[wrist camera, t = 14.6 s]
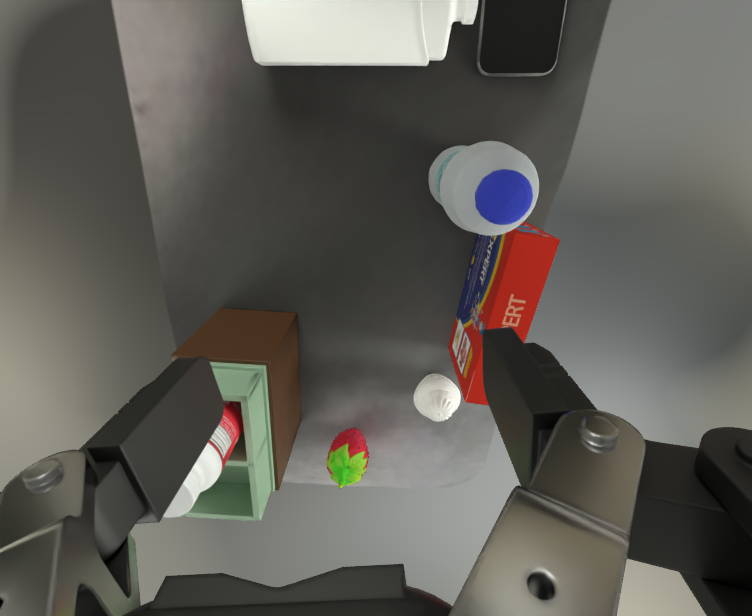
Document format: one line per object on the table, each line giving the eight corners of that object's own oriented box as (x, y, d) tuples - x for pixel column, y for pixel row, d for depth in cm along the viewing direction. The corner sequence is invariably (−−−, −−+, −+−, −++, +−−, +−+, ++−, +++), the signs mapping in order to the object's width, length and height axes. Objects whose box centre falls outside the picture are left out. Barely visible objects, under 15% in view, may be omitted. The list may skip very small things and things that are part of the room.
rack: (220, 307, 48) (142, 382, 32) (296, 312, 48) (254, 389, 32) (234, 417, 55) (175, 521, 40) (300, 422, 55) (267, 526, 40)
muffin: (418, 359, 50) (423, 391, 43) (461, 368, 50) (472, 401, 44) (407, 396, 52) (409, 430, 46) (448, 404, 53) (456, 439, 46)
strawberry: (328, 449, 57) (317, 507, 48) (335, 411, 54) (325, 465, 45) (365, 455, 57) (361, 514, 48) (374, 418, 54) (371, 473, 45)
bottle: (439, 218, 42) (480, 271, 24) (414, 163, 40) (437, 176, 22) (494, 189, 41) (582, 222, 23) (471, 131, 39) (548, 114, 20)
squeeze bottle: (252, -56, 33) (230, -90, 28) (475, -56, 33) (489, -90, 28) (264, 69, 37) (247, 57, 32) (463, 70, 36) (474, 59, 32)
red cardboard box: (477, 351, 49) (502, 407, 39) (448, 347, 49) (465, 402, 38) (516, 217, 42) (560, 239, 31) (482, 211, 42) (514, 233, 31)
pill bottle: (213, 433, 39) (153, 532, 29) (180, 390, 37) (103, 479, 27) (263, 417, 38) (218, 513, 28) (232, 371, 36) (172, 457, 26)
